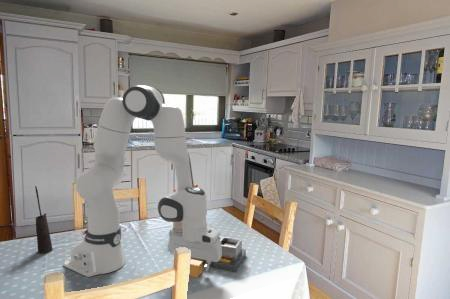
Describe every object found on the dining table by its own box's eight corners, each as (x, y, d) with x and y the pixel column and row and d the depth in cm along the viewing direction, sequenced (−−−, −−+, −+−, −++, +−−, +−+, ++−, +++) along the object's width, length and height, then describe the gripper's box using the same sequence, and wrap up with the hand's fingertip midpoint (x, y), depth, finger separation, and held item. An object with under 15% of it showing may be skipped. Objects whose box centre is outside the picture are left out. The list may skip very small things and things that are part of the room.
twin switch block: (186, 262, 122) (186, 243, 121) (201, 246, 135) (201, 229, 134) (235, 272, 115) (236, 252, 114) (245, 255, 128) (246, 237, 127)
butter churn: (48, 242, 136) (43, 180, 132) (64, 246, 132) (60, 182, 128) (28, 252, 127) (22, 185, 123) (45, 256, 124) (40, 188, 120)
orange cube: (186, 275, 113) (186, 264, 112) (191, 269, 117) (191, 259, 116) (197, 277, 111) (197, 267, 111) (202, 271, 115) (202, 261, 115)
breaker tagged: (220, 255, 121) (220, 248, 121) (225, 250, 126) (225, 243, 126) (233, 258, 120) (233, 250, 119) (236, 252, 124) (237, 245, 124)
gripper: (164, 230, 112) (165, 266, 114) (217, 239, 106) (217, 277, 108) (173, 224, 118) (173, 258, 120) (223, 232, 112) (223, 268, 114)
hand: (194, 267), depth 114 cm, fingers open, 8 cm apart
